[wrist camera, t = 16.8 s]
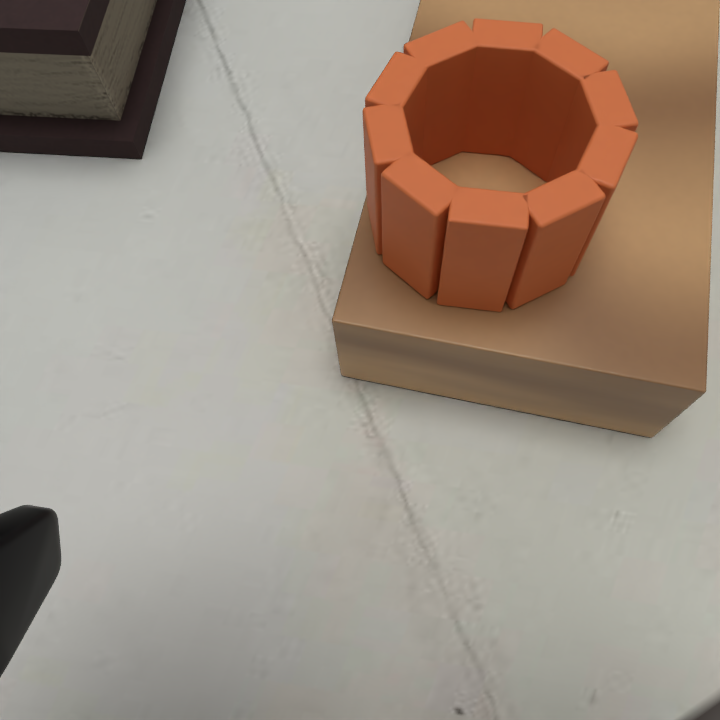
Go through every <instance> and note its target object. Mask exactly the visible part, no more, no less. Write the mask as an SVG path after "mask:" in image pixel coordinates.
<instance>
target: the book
mask: <svg viewBox="0 0 720 720" xmlns="http://www.w3.org/2000/svg"><path fill="white" fill-rule="evenodd" d="M185 1H186V0H0V151H2V152H21V153H40V154H59V155H78V156H97V157H116V158H135V159H141V158H142V155H143V151H144V148H145V144H146V140H147V137H148V133H149V130H150V126H151V123H152V119H153V115H154V112H155V108H156V105H157V101H158V98H159V94H160V90H161V87H162V83H163V80H164V76H165V72H166V69H167V65H168V62H169V58H170V55H171V51H172V47H173V44H174V40H175V37H176V33H177V30H178V26H179V22H180V19H181V15H182V12H183V8H184V5H185Z"/></svg>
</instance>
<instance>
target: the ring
mask: <svg viewBox="0 0 720 720" xmlns="http://www.w3.org/2000/svg"><path fill="white" fill-rule="evenodd" d="M542 36H543V24H541V23H529V22H516V21H503V20H491V19H478V18H475V19H474V20H473V27H472V30H471V29H470V27H469V26H468V25H467V24H466V23H465V21H459V22H457V23H455V24H452V25H450V26H447V27H445V28H442V29H440V30H437V31H435V32H433V33H430V34H428V35H425V36H423V37H420V38H418V39H415V40H413V41H411V42H408V43H406V44H404V53H401V52H395V53H394V55H393V56H392V58H391V59H390V61H389V62H388V64H387V65H386V67H385V69H384V70H383V72H382V73H381V75H380V76H379V78H378V79H377V81H376V82H375V84H374V85H373V87H372V88H371V90H370V92H369V93H368V95H367V96H366V98H365V108H364V109H363V129H364V150H365V170H366V190H367V207H368V212H369V217H370V223H371V228H372V233H373V238H374V243H375V248H376V252H377V254H379V255H380V254H382V257H383V263H384V264H385V265H386V266H387V267H388V268H390V269H391V270H392V271H393V272H394V273H396V274H397V275H398V276H399V277H400V278H402V279H403V280H404V281H405V282H406V283H408V284H409V285H410V286H411V287H413V288H414V289H415V290H416V291H417V292H419V293H420V294H421V295H422V296H423V297H425V298H426V299H429V298H430V297H431V296H433V295H434V294H435V293H436V292H437V291H438V296H437V304H438V305H445V306H454V307H462V308H470V309H479V310H487V311H495V312H501V311H502V309H503V306H504V303H505V301H506V302H507V304H508V305H509V307H510V308H511V309H515V308H517V307H519V306H521V305H523V304H525V303H527V302H529V301H531V300H534V299H536V298H538V297H540V296H542V295H544V294H546V293H548V292H550V291H552V290H554V289H556V288H558V287H560V286H562V285H564V284H565V283H566V282H567V279H568V277H569V276H573V275H574V274H575V273H576V270H577V268H578V266H579V264H580V262H581V260H582V258H583V256H584V254H585V252H586V250H587V247H588V245H589V243H590V241H591V239H592V237H593V235H594V233H595V231H596V229H597V227H598V224H599V222H600V220H601V218H602V216H603V214H604V212H605V210H606V208H607V206H608V204H609V201H610V199H611V197H612V195H613V193H614V191H615V189H616V187H617V185H618V182H619V180H620V178H621V175H622V173H623V171H624V169H625V166H626V164H627V162H628V160H629V157H630V155H631V153H632V151H633V148H634V146H635V144H636V142H637V139H638V134H637V133H636V132H635V131H636V129H637V127H638V120H637V117H636V115H635V112H634V110H633V108H632V105H631V103H630V101H629V98H628V96H627V93H626V91H625V89H624V86H623V84H622V81H621V79H620V77H619V74H618V72H617V71H616V70H609V71H606V70H607V67H608V64H609V61H608V60H606V59H605V58H603V57H601V56H600V55H598V54H596V53H595V52H593V51H591V50H590V49H588V48H587V47H585V46H583V45H582V44H580V43H578V42H577V41H575V40H573V39H572V38H570V37H569V36H567V35H565V34H564V33H562V32H560V31H559V30H557V29H556V28H552V29H551V30H550V31H549V32H547V33H546V34H545V35H544V36H543V37H542ZM460 152H472V153H482V154H492V155H502V156H510V157H512V158H513V159H514V160H516V161H517V162H519V163H520V164H522V165H523V166H524V167H526V168H527V169H529V170H530V171H532V172H533V173H534V174H536V175H537V176H539V177H540V178H542V179H543V180H544V181H546V182H547V183H545V184H543V185H541V186H539V187H537V188H534V189H532V190H530V191H528V192H526V193H518V192H508V191H499V190H489V189H479V188H469V187H460V186H457V185H456V184H455V183H453V182H452V181H451V180H449V179H448V178H447V177H445V176H444V175H443V174H441V173H440V172H439V171H437V170H436V169H435V168H433V167H432V166H431V165H433V164H435V163H437V162H440V161H442V160H444V159H446V158H449V157H451V156H453V155H455V154H458V153H460Z"/></svg>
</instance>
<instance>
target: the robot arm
mask: <svg viewBox="0 0 720 720" xmlns="http://www.w3.org/2000/svg"><path fill="white" fill-rule="evenodd" d="M60 566H61V548H60V537H59V525H58V518H57V515H56V513H55V511H53V510H52V509H50V508H44V507H38V506H32V505H23V506H20V507H17V508H14V509H12V510H9V511H7V512H4V513H2V514H0V677H1V675H2V674H3V672H4V670H5V669H6V667H7V665H8V664H9V662H10V660H11V658H12V657H13V655H14V653H15V651H16V649H17V648H18V646H19V644H20V642H21V641H22V639H23V637H24V635H25V633H26V632H27V630H28V628H29V626H30V624H31V623H32V621H33V619H34V617H35V615H36V614H37V612H38V610H39V608H40V606H41V605H42V603H43V601H44V599H45V597H46V596H47V594H48V592H49V590H50V588H51V587H52V585H53V583H54V581H55V579H56V577H57V575H58V573H59V570H60Z"/></svg>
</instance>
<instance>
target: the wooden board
mask: <svg viewBox="0 0 720 720" xmlns="http://www.w3.org/2000/svg"><path fill="white" fill-rule="evenodd" d="M719 8H720V0H420V4H419V7H418V11H417V14H416V18H415V22H414V25H413V29H412V33H411V36H410V40H409V42H411V41H413V40H415V39H418V38H420V37H423V36H425V35H428V34H430V33H433V32H435V31H437V30H440V29H442V28H445V27H447V26H450V25H452V24H455V23H457V22H459V21H465V23H466V24H467V25H468V26H469V27H470V29H471V30H472V27H473V20H474V19H475V18H478V19H491V20H503V21H516V22H529V23H541V24H543V36H544V35H545V34H546V33H547V32H549V31H550V30H551V29H552V28H556V29H557V30H559V31H560V32H562V33H564V34H565V35H567V36H569V37H570V38H572V39H573V40H575V41H577V42H578V43H580V44H582V45H583V46H585V47H587V48H588V49H590V50H591V51H593V52H595V53H596V54H598V55H600V56H601V57H603V58H605V59H606V60H608V61H609V64H608V67H607V70H606V71H609V70H616V71H617V72H618V74H619V77H620V79H621V81H622V84H623V86H624V89H625V91H626V93H627V96H628V98H629V101H630V103H631V105H632V108H633V110H634V112H635V115H636V117H637V120H638V127H637V129H636V131H635V132H636V133H637V134H638V139H637V142H636V144H635V146H634V148H633V151H632V153H631V155H630V157H629V160H628V162H627V164H626V166H625V169H624V171H623V173H622V175H621V178H620V180H619V182H618V185H617V187H616V189H615V191H614V193H613V195H612V197H611V199H610V201H609V204H608V206H607V208H606V210H605V212H604V214H603V216H602V218H601V220H600V222H599V224H598V227H597V229H596V231H595V233H594V235H593V237H592V239H591V241H590V243H589V245H588V247H587V250H586V252H585V254H584V256H583V258H582V260H581V262H580V264H579V266H578V268H577V270H576V273H575V274H574V275H573V276H569V277H568V279H567V282H566V283H565V284H564V285H562V286H560V287H558V288H556V289H554V290H552V291H550V292H548V293H546V294H544V295H542V296H540V297H538V298H536V299H534V300H531V301H529V302H527V303H525V304H523V305H521V306H519V307H517V308H515V309H511V308H510V307H509V305H508V304H507V302H506V301H505V303H504V306H503V309H502V311H501V312H495V311H487V310H479V309H470V308H462V307H454V306H445V305H438V304H437V296H438V291H437V292H436V293H435V294H434V295H433V296H431V297H430V298H429V299H426V298H425V297H423V296H422V295H421V294H420V293H419V292H417V291H416V290H415V289H414V288H413V287H411V286H410V285H409V284H408V283H406V282H405V281H404V280H403V279H402V278H400V277H399V276H398V275H397V274H396V273H394V272H393V271H392V270H391V269H390V268H388V267H387V266H386V265H385V264H384V263H383V257H382V254H380V255H379V254H377V252H376V248H375V243H374V238H373V233H372V228H371V223H370V217H369V212H368V207H367V195H366V199H365V203H364V206H363V210H362V213H361V217H360V221H359V224H358V228H357V232H356V235H355V239H354V242H353V246H352V250H351V253H350V257H349V260H348V264H347V268H346V271H345V275H344V279H343V282H342V286H341V289H340V293H339V297H338V300H337V304H336V307H335V311H334V315H333V318H332V323H333V329H334V335H335V341H336V347H337V352H338V358H339V364H340V370H341V375H342V376H346V377H351V378H356V379H361V380H366V381H371V382H376V383H381V384H386V385H391V386H396V387H401V388H406V389H411V390H416V391H421V392H426V393H431V394H436V395H441V396H446V397H451V398H456V399H461V400H466V401H471V402H476V403H481V404H486V405H491V406H496V407H501V408H506V409H511V410H516V411H521V412H526V413H531V414H536V415H541V416H546V417H551V418H556V419H561V420H566V421H571V422H576V423H581V424H586V425H591V426H596V427H601V428H606V429H611V430H616V431H621V432H626V433H631V434H636V435H641V436H646V437H654V436H655V435H656V434H657V433H658V432H659V431H661V430H662V429H663V428H664V427H665V426H667V425H668V424H669V423H670V422H671V421H672V420H674V419H675V418H676V417H677V416H678V415H679V414H681V413H682V412H683V411H684V410H685V409H687V408H688V407H689V406H690V405H691V404H692V403H694V402H695V401H696V400H697V399H698V398H699V397H701V396H702V395H703V394H704V393H705V392H706V378H707V350H708V321H709V293H710V264H711V236H712V207H713V179H714V150H715V122H716V93H717V65H718V36H719ZM543 36H542V37H543ZM431 166H432V167H433V168H435V169H436V170H437V171H439V172H440V173H441V174H443V175H444V176H445V177H447V178H448V179H449V180H451V181H452V182H453V183H455V184H456V185H457V186H460V187H469V188H479V189H489V190H499V191H508V192H518V193H526V192H528V191H530V190H532V189H534V188H537V187H539V186H541V185H543V184H545V183H547V182H546V181H544V180H543V179H542V178H540V177H539V176H537V175H536V174H534V173H533V172H532V171H530V170H529V169H527V168H526V167H524V166H523V165H522V164H520V163H519V162H517V161H516V160H514V159H513V158H512V157H510V156H502V155H492V154H482V153H472V152H460V153H458V154H455V155H453V156H451V157H449V158H446V159H444V160H442V161H440V162H437V163H435V164H433V165H431Z"/></svg>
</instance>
